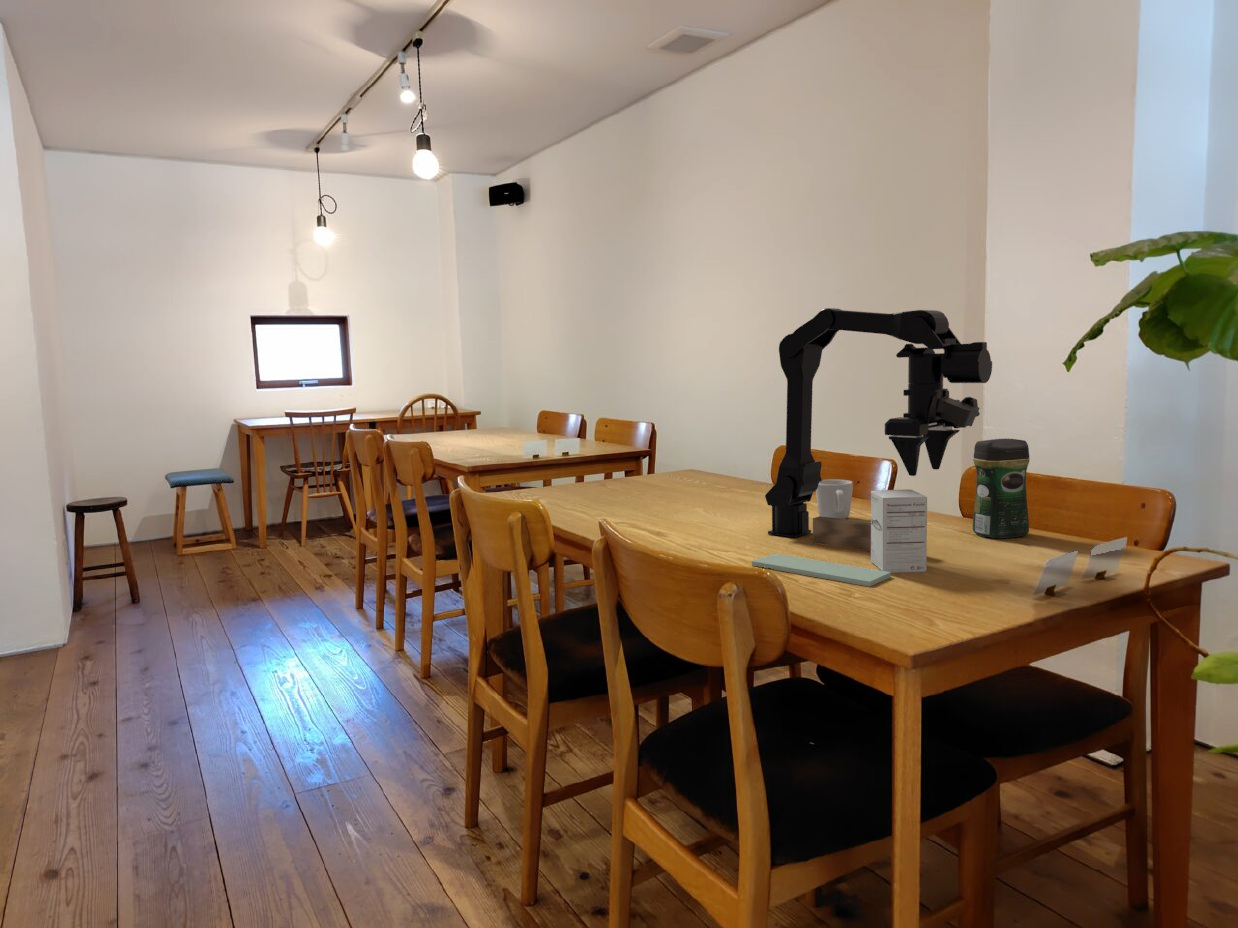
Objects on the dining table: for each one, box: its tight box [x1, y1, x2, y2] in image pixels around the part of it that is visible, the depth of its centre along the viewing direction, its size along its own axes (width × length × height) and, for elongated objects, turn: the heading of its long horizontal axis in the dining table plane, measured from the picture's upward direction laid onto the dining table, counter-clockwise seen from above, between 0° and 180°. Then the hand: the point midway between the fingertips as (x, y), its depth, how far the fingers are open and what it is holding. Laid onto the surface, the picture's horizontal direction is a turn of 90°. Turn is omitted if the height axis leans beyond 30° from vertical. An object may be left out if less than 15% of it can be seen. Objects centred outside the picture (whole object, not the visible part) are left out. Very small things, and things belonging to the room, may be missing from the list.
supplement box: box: [870, 489, 928, 574], centre depth 139 cm, size 7×7×13 cm
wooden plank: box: [812, 515, 871, 552], centre depth 154 cm, size 20×2×5 cm, turn 45°
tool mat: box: [751, 553, 892, 588], centre depth 139 cm, size 22×7×1 cm, turn 46°
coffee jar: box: [972, 438, 1031, 539], centre depth 160 cm, size 10×8×19 cm
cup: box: [815, 478, 854, 520], centre depth 181 cm, size 11×8×8 cm
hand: (924, 472), depth 147 cm, fingers open, 9 cm apart
